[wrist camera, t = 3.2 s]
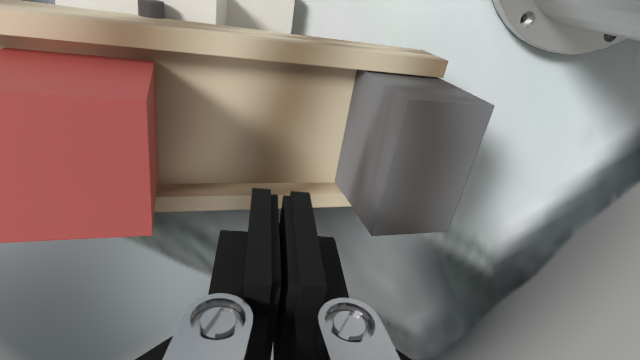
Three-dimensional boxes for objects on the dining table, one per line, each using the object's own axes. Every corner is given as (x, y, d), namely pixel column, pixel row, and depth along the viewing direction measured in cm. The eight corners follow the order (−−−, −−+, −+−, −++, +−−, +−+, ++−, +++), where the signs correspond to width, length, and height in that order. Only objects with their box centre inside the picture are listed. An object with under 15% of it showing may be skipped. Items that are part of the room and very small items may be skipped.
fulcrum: (294, -7, 22) (299, 0, 17) (273, 169, 27) (273, 213, 22) (58, -48, 20) (-10, -53, 15) (83, 150, 25) (38, 193, 20)
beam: (419, 36, 21) (508, 68, 15) (379, 187, 25) (438, 256, 19) (-311, -65, 12) (-738, -77, 6) (-183, 194, 16) (-374, 324, 11)
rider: (154, 60, 16) (146, 99, 12) (158, 170, 18) (152, 235, 14) (4, 47, 14) (-67, 87, 10) (29, 170, 17) (-20, 243, 12)
